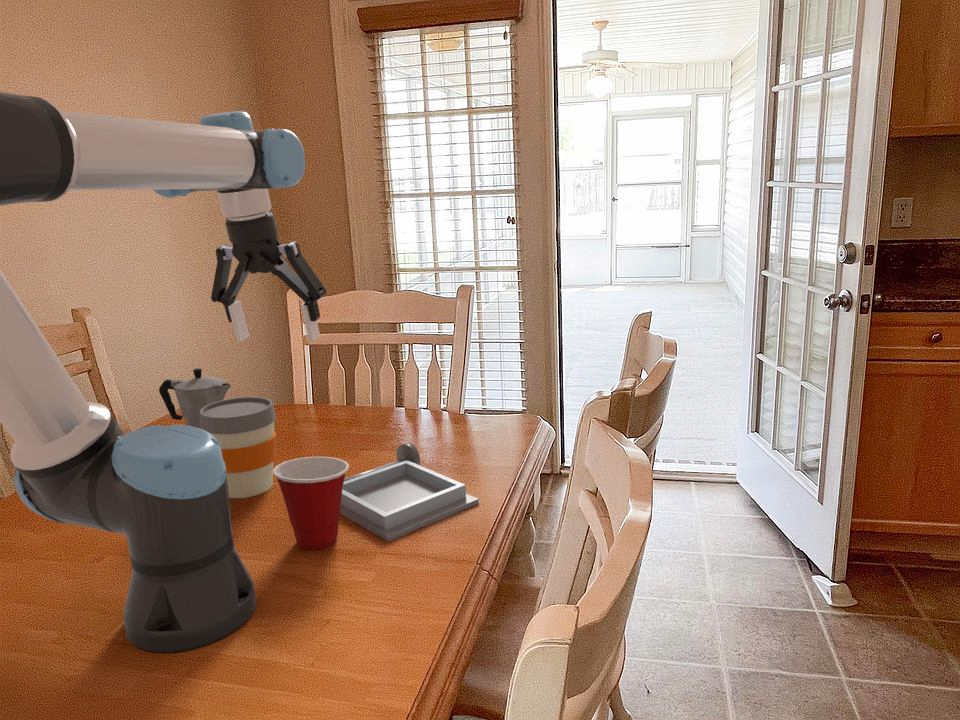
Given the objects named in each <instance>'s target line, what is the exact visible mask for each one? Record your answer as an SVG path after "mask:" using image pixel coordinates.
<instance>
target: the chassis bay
mask: <svg viewBox="0 0 960 720" xmlns="http://www.w3.org/2000/svg"><path fill="white" fill-rule="evenodd" d="M396 459H397V460H396V461H393V462H390V463H386V464H384V465H381V466H378V467H375V468H372V469H369V470H366V471H363V472H360V473H357V474H355V475H350V476H348V477H345V478H344V484H343V488H342V499H341V509H340V515H341V514H342V515H341V516H343V515H344V516H343V517H345V518H346V517H347V518H346V519H349V520H350V521H351V522H353V521H354V523H355V524H357V525H359V526H360V525H361V526H360V527H362V528H364V529H365V530H367V531H369V532H370V531H371V533H372V534H374V535H375V536H378V537H379V538H381V539H382V540H384V541H386V542H387V543H389V542H391V541H393V540H396V539H398V538H400V537H403V536H405V535H408V534H410V533H412V532H411V531H413V532H414V530H415V531H417V530H419V528H420V529H422V528H424V527H426V526H427V527H428V526H429V525H431V524H434V523H436V522H438V521H439V522H440V520H443V519H445V518H448V517H450V516H453V515H455V514H457V513H460V512H462V511H465V510H466V509H469V508H471V506H472V507H474V506H476V505H478V503H479V504H480V500H479V499H480V498H478V497H476V496H473V495H470V494H468V493H467V491H466V488H467V487H466V484H465V483H462V482H460V481H457V480H456V479H452V478H450V477H448V476H445V475H443V474H441V473H438V472H436V471H434V470H431V469H429V468H427V467H425V466H422V465H421V464H420V463H421V459H420V453H419V451H418V449H417V447H416V446H415V444H413V443H412V442H406V443H403V444H400V445H398V447H397V449H396ZM464 509H465V510H464ZM459 511H460V512H459ZM421 527H422V528H421ZM416 529H417V530H416ZM409 532H410V533H409Z"/></svg>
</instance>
